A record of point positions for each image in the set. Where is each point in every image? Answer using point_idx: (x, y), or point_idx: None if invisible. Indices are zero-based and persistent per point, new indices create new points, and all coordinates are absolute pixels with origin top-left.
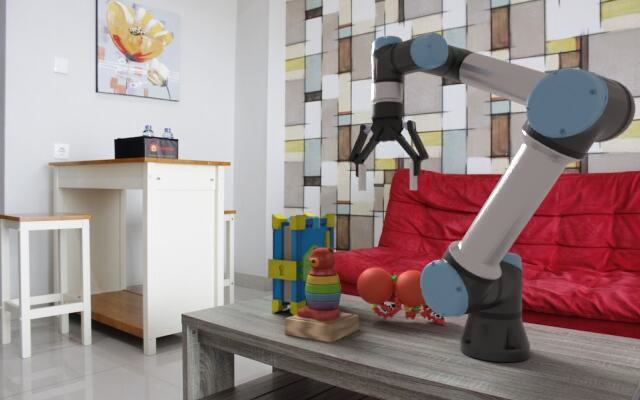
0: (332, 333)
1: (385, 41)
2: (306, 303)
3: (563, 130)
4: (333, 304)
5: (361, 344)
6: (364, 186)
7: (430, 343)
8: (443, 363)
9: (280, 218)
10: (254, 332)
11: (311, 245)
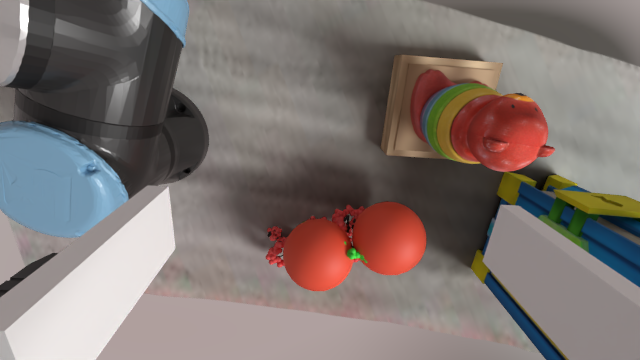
0: (397, 59)
1: None
2: None
3: None
4: (425, 105)
5: (346, 70)
6: (503, 258)
7: (253, 129)
8: (198, 34)
9: None
10: (541, 46)
11: None
